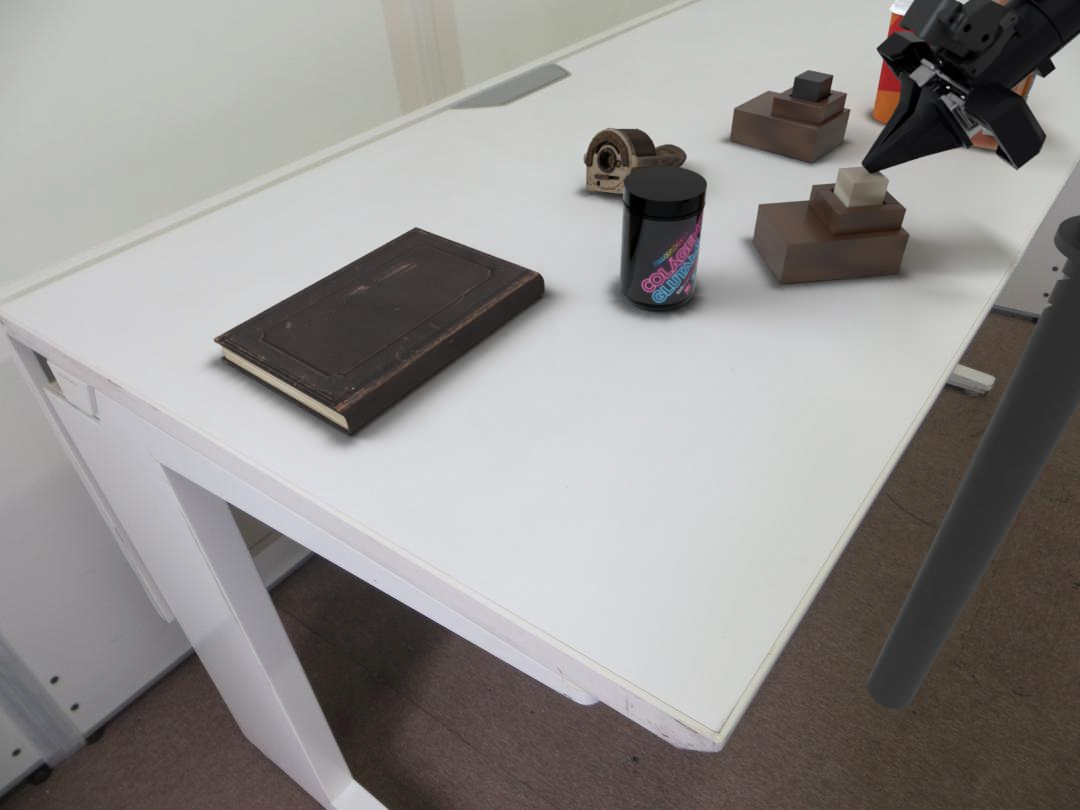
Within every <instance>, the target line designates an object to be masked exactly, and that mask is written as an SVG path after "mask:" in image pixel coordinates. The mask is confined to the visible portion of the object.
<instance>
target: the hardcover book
mask: <svg viewBox="0 0 1080 810" xmlns="http://www.w3.org/2000/svg"><path fill="white" fill-rule="evenodd" d="M545 289H546V284H545V278H544V277H543V275H542V274H541V272H538V271H536V270H533V269H530V268H528V267H525V266H522V265H519V264H516V263H514V262H511V261H509V260H506V259H504V258H501V257H498V256H495V255H492V254H489V253H487V252H485V251H482V250H479V249H477V248H474V247H471V246H468V245H465V244H463V243H460V242H457V241H454V240H453V239H450V238H446V237H444V236H441V235H439V234H436V233H433V232H431V231H428V230H425V229H422V228H419V227H417V226H415V227H413V228H412V229H409V230H408V231H406V232H404V233H402V234H400V235H399V236H396V237H395V238H393V239H392V240H389V241H387V242H386V243H384V244H382V245H381V246H379V247H377V248H375V249H374V250H371V251H369V252H368V253H366V254H364V255H363V256H361V257H359V258H357V259H355V260H354V261H351V262H350V263H348V264H347V265H345V266H343V267H341V268H339V269H337V270H336V271H333V272H332V273H330V274H328V275H326V276H324V277H323V278H321V279H319V280H317V281H315V282H314V283H312V284H310V285H308V286H306V287H305V288H303V289H301V290H299V291H297V292H295V293H293V294H292V295H290V296H288V297H287V298H285V299H283V300H281V301H279V302H277V303H275V304H274V305H272V306H270V307H268V308H267V309H265V310H263V311H261V312H259V313H258V314H255V315H253V316H252V317H250V318H248V319H246V320H244V321H243V322H241V323H238V324H237V325H236V326H234V327H232V328H230V329H229V330H226V331H225V332H223V333H221V334H220V335H218V336H216V337H214V338H213V342H214V343H216V344H218V345H219V346H221V350H220V351H221V352H222V353H224V356H222V357H220V360H221V361H222V362H223V363H225V364H227V365H229V366H230V367H232V368H234V369H235V370H237V371H238V372H240V373H242V374H244V375H246V376H247V377H249V378H250V379H252V380H254V381H256V382H257V383H259V384H261V385H262V386H264V387H265V388H267V389H269V390H271V391H272V392H274V393H276V394H277V395H279V396H281V397H282V398H284V399H286V400H288V401H289V402H291V403H292V404H294V405H295V406H298V407H299V408H300V409H302V410H304V411H306V412H308V413H309V414H311V415H313V416H314V417H316V418H318V419H320V420H321V421H323V422H324V423H326V424H328V425H329V426H331V427H332V428H334V429H336V430H338V431H340V432H341V433H343V434H345V435H351V434H352V433H354V432H355V431H356V430H358V429H359V428H361V427H362V426H363V425H364V424H366V423H368V421H370V420H372V419H373V418H374V417H375V416H377V415H379V414H380V413H381V412H382V411H384V410H385V409H387V408H388V407H389V406H391V405H392V404H394V403H395V402H396V401H397V400H399V399H400V398H402V397H403V396H405V395H406V394H407V393H409V392H410V391H411V390H412V389H414V388H416V387H417V386H418V385H420V384H421V383H423V382H424V381H425V380H426V379H428V378H429V377H430V376H432V375H433V374H435V373H436V372H437V371H439V370H440V369H442V368H443V367H445V366H446V365H447V364H448V363H450V362H452V360H454V359H455V358H457V357H458V356H459V355H461V354H462V353H464V352H465V351H466V350H468V349H469V348H471V347H472V346H473V345H475V344H476V343H478V342H479V341H480V340H481V339H483V338H485V336H488V334H490V333H491V332H493V331H494V330H495V329H497V328H498V327H499V326H501V325H502V324H503V323H505V322H507V321H508V320H509V319H511V318H512V317H514V316H515V315H516V314H517V313H519V312H520V311H521V310H523V309H524V308H526V306H528V305H530V304H531V303H533V302H534V301H535V300H536V299H538V298H539V297H541V296H542V295H544V294H545V291H546V290H545Z"/></svg>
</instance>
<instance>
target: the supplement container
mask: <svg viewBox="0 0 1080 810" xmlns="http://www.w3.org/2000/svg"><path fill="white" fill-rule="evenodd" d="M707 190H708V182H707V179H706V178H705V177H704V176H703V175H701V174H700V173H698V172H696V171H694V170H691V169H688V168H685V167H681V166H680V167H673V166H653V167H646V168H642V169H639V170H636V171H634V172H632V173H630V174H629V175H627V176H626V178H625V179H624V186H623V194H622V201H621V202H622V221H621V222H622V223H621V241H620V243H621V245H620V249H621V250H620V268H619V269H620V270H619V289H620V292H621V295H622V296H623V297H624V299H625V300H626V301H628V303H630V304H631V305H633V306H635V307H637V308H640V309H644V310H648V311H655V312H657V311H669V310H670V311H671V310H674V309H677V308H679V307H681V306H683V305H684V304H686V303H687V302H688V301H690V299H691V298H692V296H693V295H694V293H695V290H696V280H697V272H698V264H699V254H700V247H701V239H702V237H701V236H702V229H703V221H704V213H705V207H706V202H707V201H706V200H707V199H706V198H707Z"/></svg>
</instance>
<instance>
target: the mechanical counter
mask: <svg viewBox="0 0 1080 810" xmlns="http://www.w3.org/2000/svg"><path fill="white" fill-rule="evenodd" d="M687 158H688V156H687V153H686V152H685V150H683V149H682V148H681V147H679V146H677V145H674V144H672V143H671V144H670V143H665V144H661V145H658V146H655V143H654V140H653V139H652V138H651V137H650V135H648V133H647V132H645V131H644V130H641V129H639V128H614V127H613V128H612V127H608V128H604V129H602V130H599V131H598V132H597V133H596V134H595V135H594V136H593V137H592V138H591V140H590V142H589V145H588V147H587V150H586V152H585V153H584V154H583V158H582V159H583V164H584V165H585V166H586V167H585V168H586V169H585V170H586V173H585V174H586V176H585V177H586V178H585V190H586V191H592V192H602V193H603V192H605V193H612V194H621V195H623V186H624V179H625V178H626V176H627V175H629V174H630V173H632V172H634V171H636V170H639V169H642V168H646V167H653V166H673V167H680V168H681V167H682V166H683V165H684V164H685V162H686V160H687Z"/></svg>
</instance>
